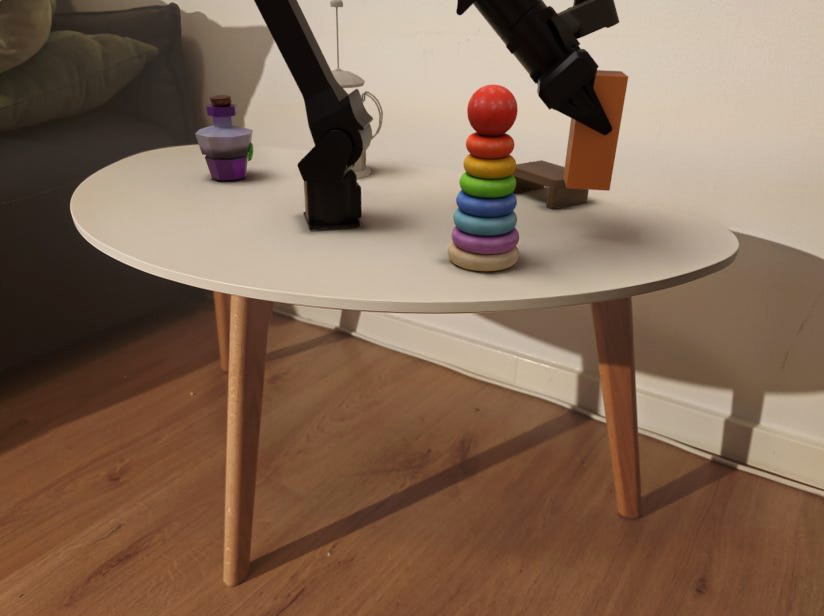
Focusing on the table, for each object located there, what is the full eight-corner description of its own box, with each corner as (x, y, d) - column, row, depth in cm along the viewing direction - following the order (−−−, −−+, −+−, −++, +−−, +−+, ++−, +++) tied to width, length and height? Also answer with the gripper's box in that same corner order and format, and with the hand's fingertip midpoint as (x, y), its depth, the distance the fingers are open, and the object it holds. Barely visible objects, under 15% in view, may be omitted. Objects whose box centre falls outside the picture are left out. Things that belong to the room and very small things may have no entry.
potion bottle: (264, 181, 107) (257, 98, 101) (206, 187, 103) (196, 101, 97) (249, 168, 113) (242, 90, 108) (195, 173, 110) (184, 92, 104)
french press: (319, 162, 118) (312, -4, 106) (387, 166, 117) (387, -2, 105) (303, 177, 109) (293, -3, 97) (376, 181, 108) (375, 0, 96)
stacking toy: (443, 249, 82) (450, 78, 73) (509, 248, 83) (525, 79, 74) (452, 274, 75) (462, 89, 66) (525, 273, 76) (544, 90, 67)
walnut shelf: (552, 209, 97) (555, 180, 95) (504, 192, 104) (506, 165, 102) (587, 202, 101) (591, 174, 99) (538, 186, 108) (541, 160, 106)
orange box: (566, 188, 82) (581, 74, 76) (563, 177, 86) (577, 69, 80) (609, 190, 82) (628, 76, 76) (604, 180, 86) (621, 71, 80)
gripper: (590, -43, 65) (685, 89, 69) (572, -38, 81) (650, 68, 86) (498, 46, 69) (593, 164, 74) (498, 33, 86) (576, 131, 90)
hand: (606, 128), depth 81 cm, fingers closed on orange box, 5 cm apart
